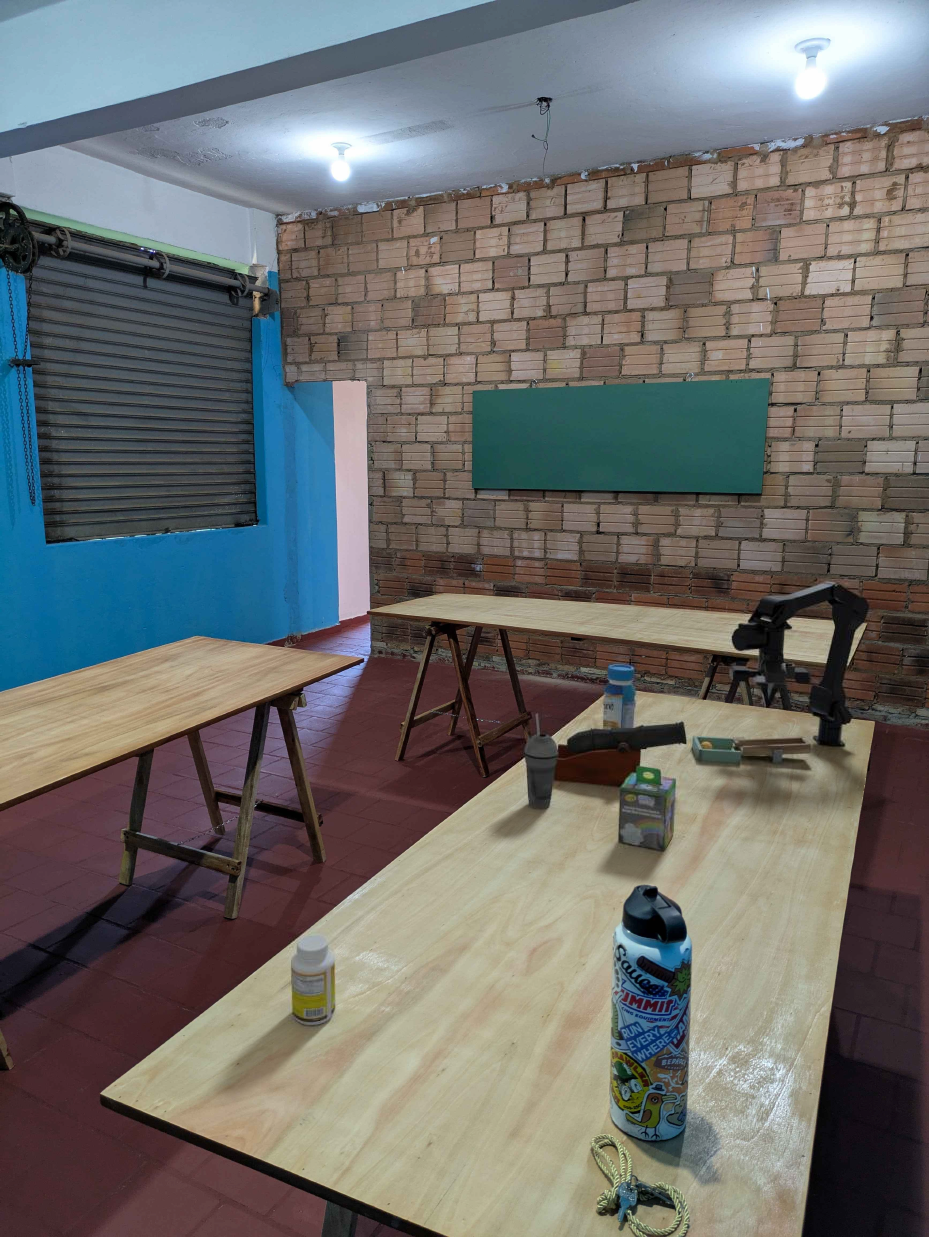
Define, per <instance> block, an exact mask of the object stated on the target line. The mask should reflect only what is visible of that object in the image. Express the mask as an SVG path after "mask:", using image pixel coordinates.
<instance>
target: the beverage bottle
mask: <svg viewBox="0 0 929 1237" xmlns="http://www.w3.org/2000/svg"><path fill="white" fill-rule="evenodd" d="M634 679H635V667H633V666H632V665H629V664H619V663H618V664H617V663H616V664H610V665H609V666H608V667H607V680H609V681H608V682H607V683H606V685H605V687H604V689H603V694H604V698H603V699H602V706H603V710H602V712H603V715H602V718H603V719H602V729H608V730H610V729H611V728H634V723H635V709H636V705H637V704H636V703H637V701H636V699H635V697H636V695H637V692H636V688H635V686H634V684H633V681H634Z"/></svg>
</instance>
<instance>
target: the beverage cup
mask: <svg viewBox="0 0 929 1237" xmlns="http://www.w3.org/2000/svg"><path fill="white" fill-rule="evenodd" d="M535 722H536V733H537V734H534V735H532V736H531V737H530V738H528V740H527V742H526V744H525V746H524V750H523V755H524V761H525V764H526V766H525V767H526V783H527V784H526V786H527V798H528V799H527V801H528V807H530V808H532V809H534V810H536V809H537V810H545V809H548V808H550V807H551V801H552V795H553V787H554V781H555V780H554V772H555V765H556V762H557V757H558V744H557V743H556V741H555V739H554V738H552V737H551V736H550V735H549V734H545V733H540V732H541V731H540V720H539V713H535Z"/></svg>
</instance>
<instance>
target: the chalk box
mask: <svg viewBox="0 0 929 1237" xmlns="http://www.w3.org/2000/svg"><path fill="white" fill-rule="evenodd" d="M647 773H649V774H647ZM676 784H677V779H676V777H675V778H674V777H670V776H669V777H667V776H662V771H661V769H659V768H656V767H648V766H643V765H642V766H641V765H640V766H637V767H636V773H631V774H630V775H629V776H628V777H627V778H626V780H625V782H624V783H623V784H622V786H621V787H619V806H618V808H619V809H618V832H617V834H618V835H617V836H618V837H617V839H618V840H617V842H618V843H623V844H628V845H633V846H637V847H640V848H641V847H642V848H645V849H646V848H647V849H652V850H656V851H660V852H664V851H665V850H666V848H667V846H668V845H669V843H670V841H671V839H672V837H673V835H674V832H675V814H676V812H675V810H676V788H677V786H676Z"/></svg>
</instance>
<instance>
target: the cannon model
mask: <svg viewBox="0 0 929 1237" xmlns="http://www.w3.org/2000/svg"><path fill="white" fill-rule="evenodd" d="M686 733H687V732H686V728H685V723H684V720H683V721H682V720H681V721H680V722H678V721H676V722H675V723H665V724H653V725H644V724H641V725H638V726H635V727H633V728H611V729H610V730H608V729H603V728H590V729H587V730H583V731H578V732H576V733H574V734H573V735H571V736H570V737H569V738H567V740H566V744H561V743H558V744H557V749H558V757H557V762H556V765H555V772H554V780H553V781H558V782H566V783H576V784H584V785H593V786H605V787H614V788H620V787H621V786H622V784H623V783H624V782H625V780H626V778H627V777H628V776H629V775H630V774H631V773H636V767H637V766H641V757H642V756H641V755H642V750H648V748H649V749H650V748H655V747H656V748H657V747H665V746H671V745H678V746H680V745H681V744H683V745H687V734H686Z"/></svg>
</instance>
